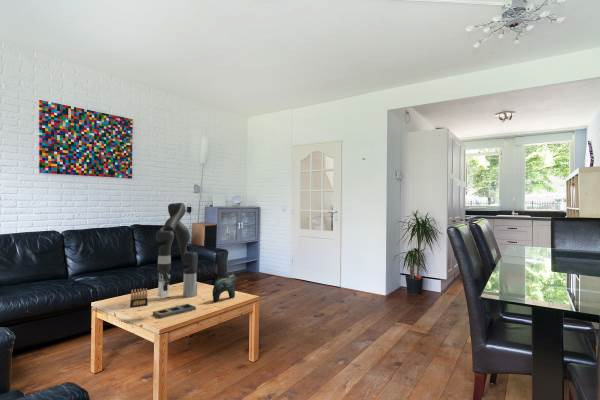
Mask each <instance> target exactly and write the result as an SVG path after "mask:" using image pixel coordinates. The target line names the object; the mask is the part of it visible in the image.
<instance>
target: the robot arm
mask: <svg viewBox="0 0 600 400" xmlns="http://www.w3.org/2000/svg"><path fill="white" fill-rule="evenodd" d="M167 210H168V211H167V212H168V214H169V218H168V219H167V220H165V222H164V224H163V226H162V227H161V228H160V229H159V230H158V231H157V232H156V234H155V240H156V241H157V242H159V243H166V244H164V245H160V246H159V247H158V257H157V271H158V272H156V275H157V276H156V278H157V282H158V283H159V281H163V282H164V291H167V288H168V284H169V285H170V284H171V279H172V274H169V271H170V270H172V269H171V268H172V266H171V265H172V256H171V252H172V250H171V249H172V244H173V241H174V240H175V236H176V240H177V243H178V246H179V251H180V257H181V258H180V260H181V262H182V263H183V264H186V265H190V266H189V267H188V268H187V267H186V268H184V269H183V284H182V285H183V289H182V290H183V293H182V296H183V297H184V298H191V297H196V296H197V295H198V282H197V271H198V270H197V269H198V259H199V256H198V253H197V252H196V251H195V252H194V251H188V248H187V247H188V244H189V242H190V240H191V236H190V235H191V234H190V232H189V229H188V227H187V226H186V225H185V224H184V223H182V221H181V220H182V218H183V217H184V215H185V214H186V213H187V212H186V210H187V209H186V205H185V204H184V203H183V202H175V203H169V204H168V206H167ZM174 232H175V233H174Z"/></svg>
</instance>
